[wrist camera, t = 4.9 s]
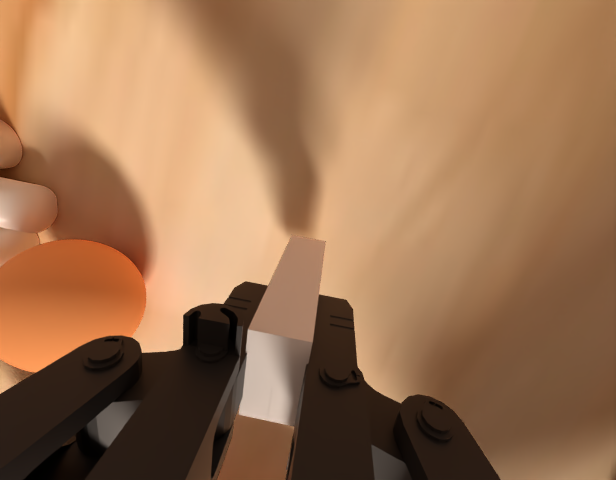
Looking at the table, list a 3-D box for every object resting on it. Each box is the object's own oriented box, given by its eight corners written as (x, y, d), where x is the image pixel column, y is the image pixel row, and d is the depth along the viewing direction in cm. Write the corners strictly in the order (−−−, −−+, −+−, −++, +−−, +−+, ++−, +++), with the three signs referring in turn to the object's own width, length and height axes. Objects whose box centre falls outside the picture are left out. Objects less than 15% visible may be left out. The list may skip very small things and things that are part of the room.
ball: (22, 255, 16) (118, 204, 15) (98, 336, 18) (184, 293, 17) (-119, 320, 10) (27, 243, 10) (15, 428, 12) (140, 367, 12)
